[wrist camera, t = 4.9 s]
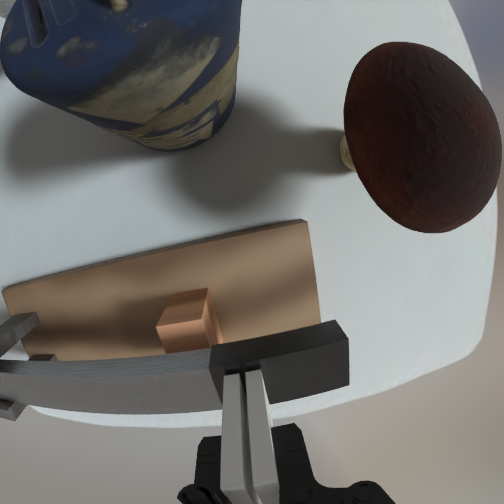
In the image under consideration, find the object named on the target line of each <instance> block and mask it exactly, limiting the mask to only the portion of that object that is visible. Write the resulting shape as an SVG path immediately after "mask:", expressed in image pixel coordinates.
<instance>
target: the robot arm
mask: <svg viewBox="0 0 504 504" xmlns="http://www.w3.org/2000/svg"><path fill="white" fill-rule="evenodd" d="M245 373H246V389H247V398H246V395H245V392H244V388H243V385H242V382H241V378H240V375H239V374H233V375H227V376H224V385H223V409H222V435H221V436H212V437H203V439H202V440H201V442H200V444H199V446H198V451H197V460H196V464H197V465H196V470H195V480H194V484H190V485H188V486H186V487H184V488H183V489H182V490H181V491H180V492H179V494H178V496H177V499H179V501H180V502H181V503H182V504H258V497H257V494H258V496H259V498H260V499H261V501H262V503H263V504H395V503H394V501H393V500H392V499H391V498H390V497H389V496H388V495H387V493H386V492H385V491H384V490H383V489H382V488H381V486H379V485H378V484H377V483H375V482H372V481H360V482H357V483H354V484H353V485H351V486H350V487H348V488H329V487H325V486H322V485H321V484H319V483H318V482H317V481H316V480H315V478H314V476H313V472H312V469H311V465H310V461H309V458H308V453H307V450H306V446H305V443H304V438H303V435H302V431H301V430H300V429H299V428H298V427H297V425H296V424H295V423H292V424H287V425H282V426H277V427H273V423H272V417H271V411H270V405H269V401H268V397H267V393H266V389H265V385H264V381H263V377H262V372H261V370H255V371H250V372H245Z"/></svg>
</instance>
